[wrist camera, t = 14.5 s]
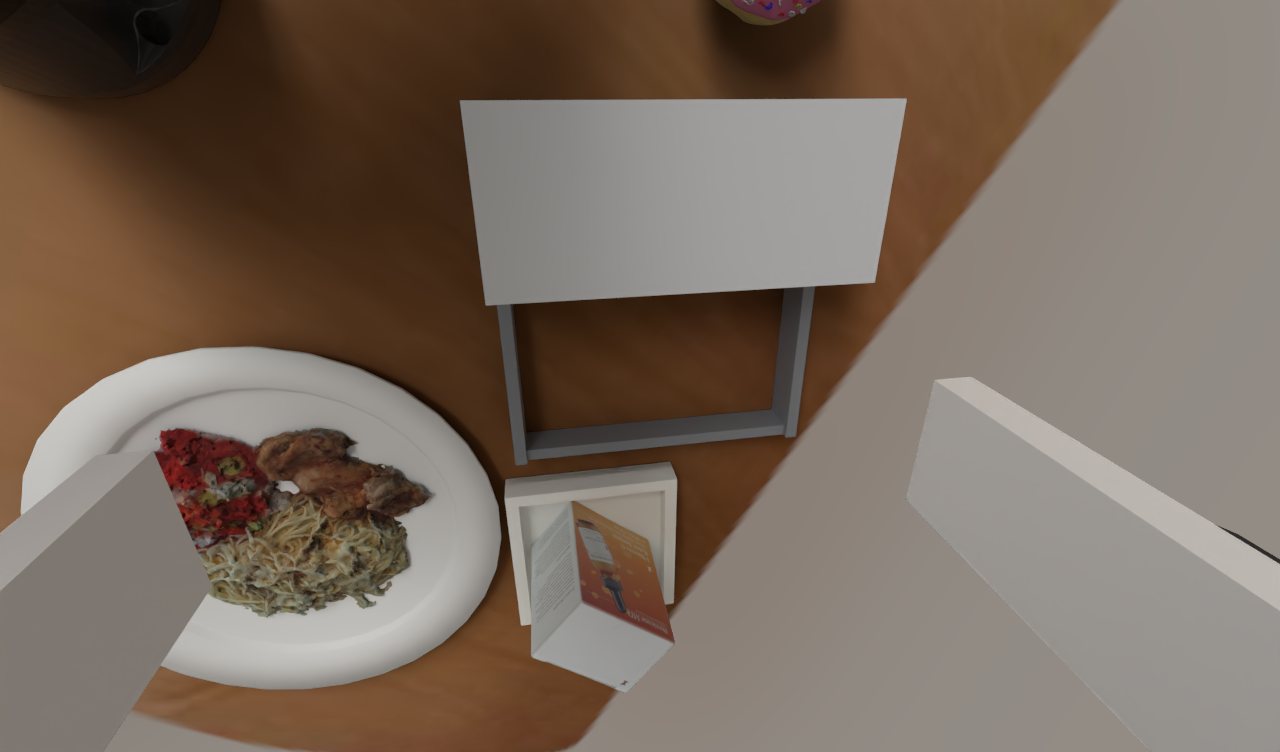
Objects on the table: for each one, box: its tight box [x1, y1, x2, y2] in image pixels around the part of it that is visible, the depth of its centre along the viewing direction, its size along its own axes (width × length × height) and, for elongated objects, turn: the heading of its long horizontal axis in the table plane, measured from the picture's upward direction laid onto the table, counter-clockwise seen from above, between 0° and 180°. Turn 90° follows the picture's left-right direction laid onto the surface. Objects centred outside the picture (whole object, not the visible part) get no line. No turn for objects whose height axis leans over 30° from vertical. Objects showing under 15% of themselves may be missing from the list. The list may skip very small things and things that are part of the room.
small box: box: [531, 501, 675, 693], centre depth 42 cm, size 8×6×10 cm
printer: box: [460, 99, 907, 465], centre depth 35 cm, size 21×23×10 cm
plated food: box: [21, 346, 501, 689], centre depth 41 cm, size 30×30×3 cm
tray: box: [504, 462, 677, 626], centre depth 46 cm, size 13×13×2 cm
